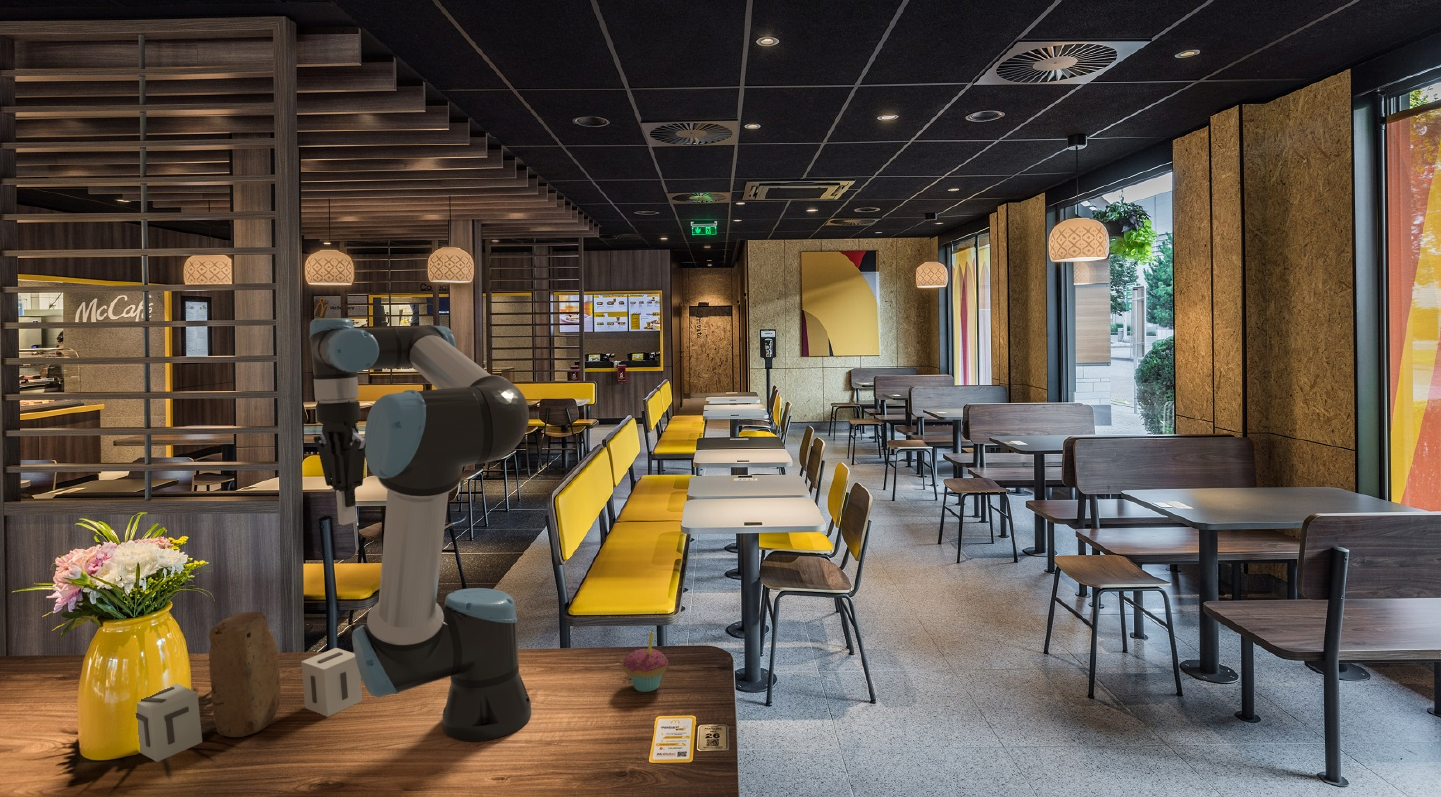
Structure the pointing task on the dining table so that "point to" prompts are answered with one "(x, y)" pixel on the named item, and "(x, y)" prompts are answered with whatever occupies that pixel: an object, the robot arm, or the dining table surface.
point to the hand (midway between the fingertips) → (347, 522)
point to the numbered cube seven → (168, 722)
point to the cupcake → (645, 667)
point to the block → (243, 674)
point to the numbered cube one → (331, 682)
